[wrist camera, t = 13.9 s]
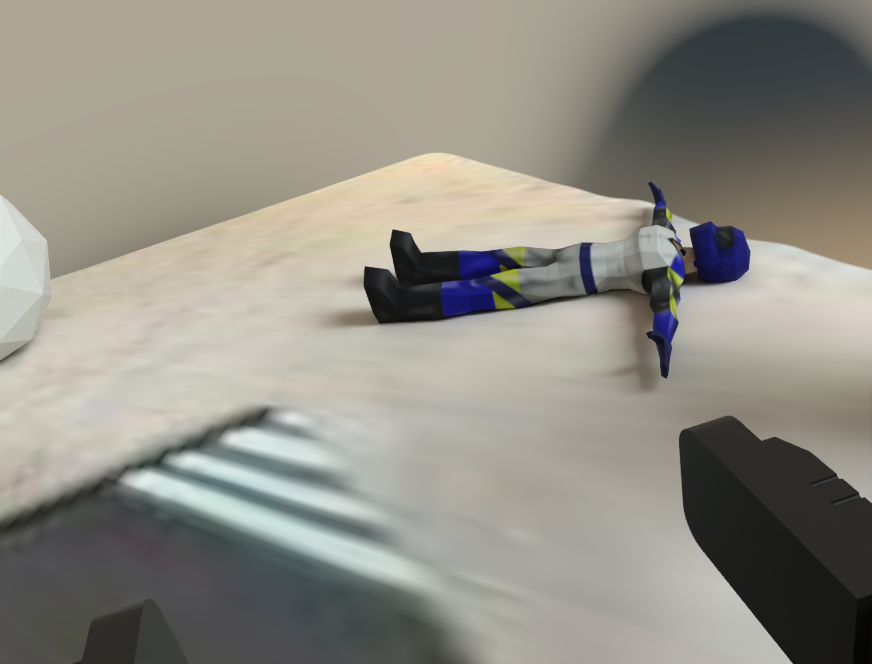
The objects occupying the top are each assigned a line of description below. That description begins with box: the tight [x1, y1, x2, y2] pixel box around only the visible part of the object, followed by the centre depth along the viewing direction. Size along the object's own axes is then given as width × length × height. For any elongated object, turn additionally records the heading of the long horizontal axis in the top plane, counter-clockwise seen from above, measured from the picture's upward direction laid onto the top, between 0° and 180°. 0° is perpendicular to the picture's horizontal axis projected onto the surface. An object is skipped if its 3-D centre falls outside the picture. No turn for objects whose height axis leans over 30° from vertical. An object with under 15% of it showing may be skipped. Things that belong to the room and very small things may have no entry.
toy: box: [364, 182, 750, 378], centre depth 63 cm, size 33×6×30 cm
